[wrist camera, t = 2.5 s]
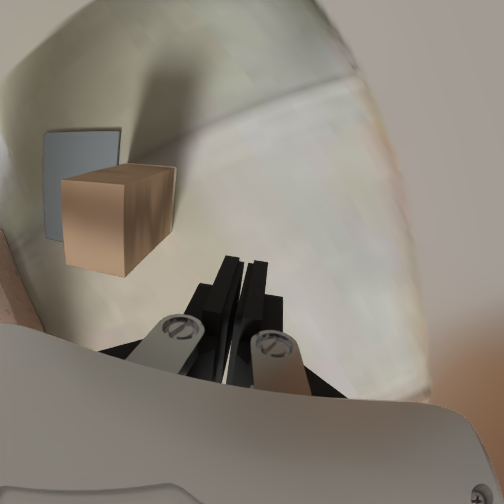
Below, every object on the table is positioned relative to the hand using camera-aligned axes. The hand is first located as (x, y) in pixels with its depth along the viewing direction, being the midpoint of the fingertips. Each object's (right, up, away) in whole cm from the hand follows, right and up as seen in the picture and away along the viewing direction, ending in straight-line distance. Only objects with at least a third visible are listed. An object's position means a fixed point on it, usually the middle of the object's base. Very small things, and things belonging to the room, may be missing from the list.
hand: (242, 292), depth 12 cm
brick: (-35, -3, +21) cm, 41 cm away
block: (-9, +7, +15) cm, 18 cm away
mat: (-17, +8, +15) cm, 24 cm away
